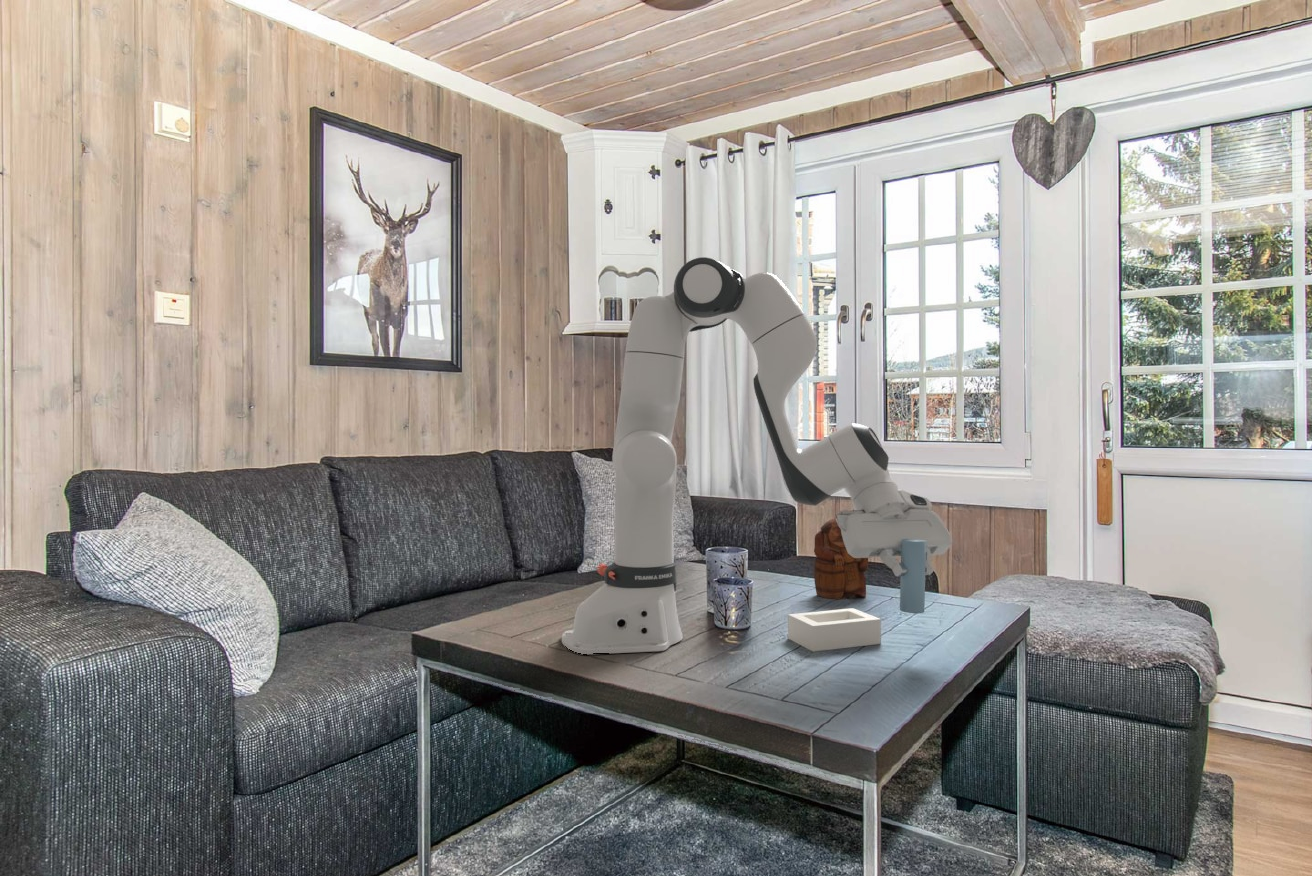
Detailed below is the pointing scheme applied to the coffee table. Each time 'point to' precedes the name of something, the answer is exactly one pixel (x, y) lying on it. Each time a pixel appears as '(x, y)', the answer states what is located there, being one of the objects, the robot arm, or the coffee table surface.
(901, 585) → the blue pin
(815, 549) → the wooden figurine
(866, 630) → the slot block
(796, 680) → the coffee table surface
